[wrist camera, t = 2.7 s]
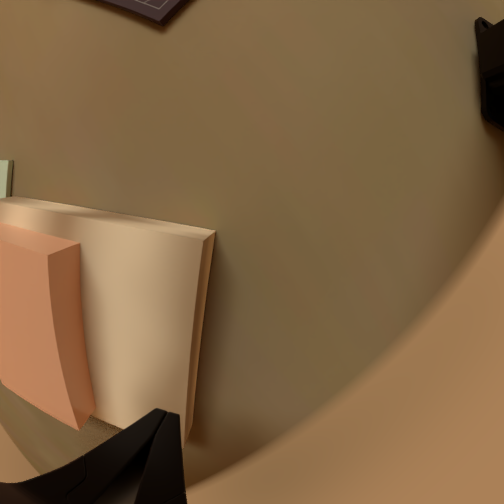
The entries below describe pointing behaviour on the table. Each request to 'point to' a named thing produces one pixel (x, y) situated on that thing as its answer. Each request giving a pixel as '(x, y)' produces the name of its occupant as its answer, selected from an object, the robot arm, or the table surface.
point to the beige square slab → (133, 304)
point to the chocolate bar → (150, 8)
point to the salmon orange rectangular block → (43, 324)
